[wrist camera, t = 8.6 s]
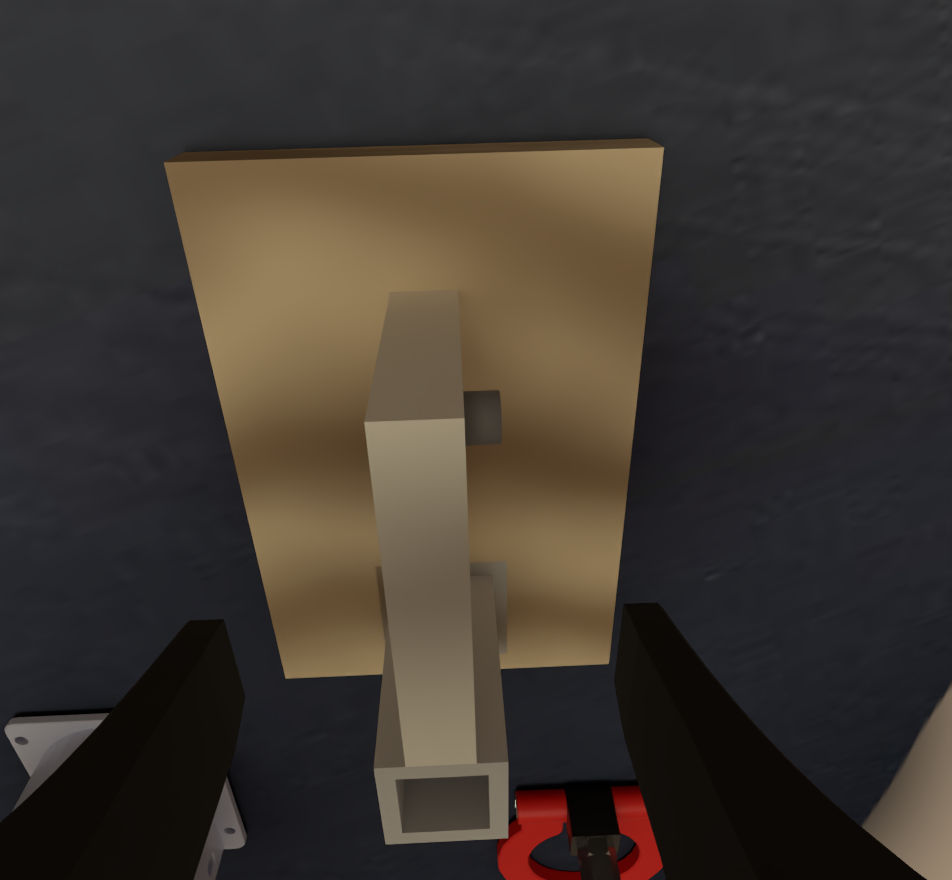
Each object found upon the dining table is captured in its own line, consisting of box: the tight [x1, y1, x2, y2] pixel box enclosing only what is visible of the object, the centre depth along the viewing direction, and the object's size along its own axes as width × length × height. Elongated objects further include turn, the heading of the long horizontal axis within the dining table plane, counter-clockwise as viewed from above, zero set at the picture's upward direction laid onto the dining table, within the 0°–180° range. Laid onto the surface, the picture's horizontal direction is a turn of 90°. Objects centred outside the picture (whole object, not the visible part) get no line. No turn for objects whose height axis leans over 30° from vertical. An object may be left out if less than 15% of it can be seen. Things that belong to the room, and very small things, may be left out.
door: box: [364, 290, 508, 844], centre depth 19 cm, size 13×3×7 cm, turn 1°
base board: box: [164, 138, 664, 679], centre depth 21 cm, size 18×12×5 cm, turn 1°
